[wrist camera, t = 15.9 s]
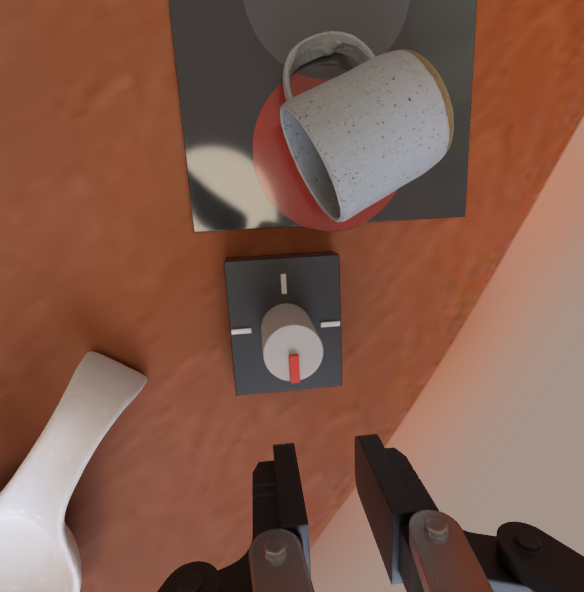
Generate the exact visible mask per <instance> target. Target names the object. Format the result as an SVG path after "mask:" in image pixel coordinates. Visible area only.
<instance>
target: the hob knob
mask: <svg viewBox="0 0 584 592" xmlns="http://www.w3.org/2000/svg"><path fill="white" fill-rule="evenodd" d="M261 334H262V347H263V358H264V362H265V365H266V367H267V368H268V370H269V371H270V372H271V373H272V374H273V375H274V376H276V377H277V378H279V379H282V380H286V381H290V382H291V383H300V380H302V379H305V378H307V377H309V376H310V375H312V374H313V373H314V372H315V371H316V370H317V369H318V367H319V365H320V364H321V361H322V358H323V345H322V342H321V340H320V338H319V336H318V334H317V332H316V330H315V328H314V326H313V324H312V322H311V320H310V318H309V316H308V314H307V313H306V312H305V311H304V310H303V309H302V308H301V307H299V306H297V305H294V304H280V305H277V306H275V307H273V308H271V309H270V310H269V311H268V312H267V313H266V315H265V316H264V318H263V320H262V324H261Z"/></svg>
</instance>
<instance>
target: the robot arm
mask: <svg viewBox="0 0 584 592" xmlns="http://www.w3.org/2000/svg"><path fill="white" fill-rule="evenodd" d="M273 451H274V461H265V462H259V463H258V465H257V466H256V468H255V470H254V472H253V539H252V543H251V545H250V548H249V550H248V551H247V553H246V554H245V555H244V556H243V557H242V558H241V559H240V560H238V561H237V562H235V563H233V564H232V565H230V566H227V567H225V568H223V569H221V570H218V571H217V569H216V568H215V567H214V566H212V565H211V564H209V563H206V562H200V561H198V562H191V563H188V564H185V565H183V566H181V567H179V568H178V569H176V570H175V571H174V572H173V573H172V574H171V575H170V576H169V577H168V578H167V580H166V581H165V582H164V584H163V585H162V586H161V588H160V589H159V590H158V592H314V589H313V585H312V582H311V570H310V550H309V529H308V520H307V514H306V509H305V503H304V497H303V492H302V486H301V480H300V475H299V469H298V463H297V458H296V452H295V446H294V443H286V444H277V445H273ZM355 479H356V486H357V490H358V494H359V497H360V500H361V502H362V505H363V507H364V510H365V513H366V516H367V519H368V521H369V524H370V527H371V529H372V532H373V535H374V538H375V540H376V543H377V546H378V548H379V551H380V554H381V557H382V559H383V562H384V565H385V568H386V570H387V573H388V576H389V578H390V581H391V584H399V583H404V586H405V589H406V591H407V592H584V556H582V555H580V554H579V553H577V552H575V551H574V550H572V549H571V548H569V547H567V546H566V545H564V544H562V543H561V542H559V541H558V540H556V539H554V538H553V537H551V536H549V535H548V534H546V533H545V532H543V531H541V530H540V529H538V528H536V527H533V526H531V525H529V524H525V523H521V522H508V523H505V524H503V525H501V526H500V527H499V528H498V530H497V537H496V536H489V535H482V534H476V533H471V532H467V531H464V530H462V528H461V527H460V525H459V524H458V523H457V522H456V521H455V520H454V519H453V518H451V517H450V516H448V515H446V514H444V513H442V512H439V510H438V508H437V507H436V505H435V504H434V502H433V500H432V499H431V497H430V495H429V494H428V492H427V490H426V489H425V487H424V485H423V484H422V482H421V480H420V479H418V475H417V474H416V472H415V471H414V470H413V468H412V466H411V464H410V462H409V461H408V459H407V457H406V456H405V455H403V454H402V453H401V452H399V451H398V450H397V449H395V448H384V446H383V444H382V442H381V440H380V438H379V437H378V435H377V434H372V435H363V436H356V437H355Z"/></svg>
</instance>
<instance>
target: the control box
mask: <svg viewBox="0 0 584 592" xmlns="http://www.w3.org/2000/svg"><path fill="white" fill-rule="evenodd" d="M224 271H225V281H226V292H227V303H228V314H229V324H230V335H231V346H232V357H233V367H234V378H235V389H236V395H247V394H258V393H268V392H279V391H290V390H300V389H311V388H321V387H332V386H342V358H341V312H340V266H339V254H337V253H335V252H334V251H328V252H313V253H297V254H281V255H266V256H250V257H234V258H226V259H225V261H224ZM280 304H294V305H297V306H299V307H301V308H302V309H303V310H304V311H305V312H306V313H307V314H308V316H309V318H310V320H311V322H312V324H313V326H314V328H315V330H316V332H317V334H318V336H319V338H320V340H321V342H322V345H323V358H322V361H321V364H320V365H319V367H318V369H317V370H316V371H315V372H314V373H313V374H312V375H310V376H309V377H307V378H305V379H302V380H300V383H291V382H290V381H286V380H282V379H279V378H277V377H276V376H274V375H273V374H272V373H271V372H270V371H269V370H268V368H267V367H266V365H265V362H264V358H263V347H262V334H261V324H262V320H263V318H264V316H265V315H266V313H267V312H268V311H269V310H270V309H271V308H273V307H275V306H277V305H280Z"/></svg>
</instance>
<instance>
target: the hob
mask: <svg viewBox="0 0 584 592" xmlns="http://www.w3.org/2000/svg"><path fill="white" fill-rule="evenodd" d="M476 4H477V0H169V6H170V16H171V25H172V34H173V43H174V52H175V61H176V71H177V80H178V89H179V98H180V107H181V116H182V126H183V135H184V144H185V153H186V162H187V171H188V181H189V190H190V199H191V208H192V217H193V226H194V232H205V231H222V230H239V229H257V228H274V227H291V226H304V227H307V228H311V229H314V230H321V231H338V230H345V229H349V228H352V227H355V226H357V225H360V224H362V223H364V222H378V221H395V220H413V219H430V218H447V217H465V208H466V189H467V171H468V152H469V134H470V115H471V96H472V78H473V59H474V41H475V22H476ZM329 31H337V32H344V33H348V34H352V35H354V36H355V37H357V38H358V39H360V40H361V41H363V42H364V43H365V44H366V45H367V46H368V47H369V48H370V49H371V51H372V52H373V54H374V55H375V57H376V56H378V55H381V54H385V53H388V52H391V51H395V50H399V49H407V50H412V51H414V52H416V53H418V54H420V55H422V56H423V57H424V58H426V59H427V60H428V61H429V62H430V63H431V64H432V66H433V67H434V68H435V69H436V70H437V72H438V73H439V75H440V76H441V78H442V80H443V82H444V84H445V86H446V88H447V91H448V93H449V97H450V100H451V104H452V108H453V117H454V132H453V139H452V142H451V145H450V148H449V149H448V151H447V153H446V154H445V156H444V157H443V158H442V159H441V160H440V161H439V162H438V163H436V164H435V165H434V166H433V167H432V168H430V169H429V170H428V171H427V172H425V173H424V174H422V175H421V176H419V177H417V178H416V179H414V180H412V181H410V182H409V183H407V184H405V185H403V186H402V187H400V188H398V189H397V190H395V191H394V192H392V193H391V194H389V195H387V196H386V197H384V198H383V199H381V200H379V201H378V202H376V203H374V204H372V205H371V206H369V207H367V208H366V209H364V210H362V211H360V212H359V213H357V214H356V215H354V216H353V217H351V218H349V219H348V220H346V221H343V222H336V221H334V220H333V219H331V218H330V217H329V216H328V215H327V214H326V213H325V212H324V211H323V210H322V208H321V207H320V206H319V205H318V203H317V202H316V200H315V198H314V197H313V195H312V194H311V193H310V191H309V189H308V187H307V186H306V184H305V182H304V180H303V178H302V176H301V174H300V172H299V171H298V168H297V166H296V163H295V161H294V159H293V157H292V155H291V153H290V150H289V148H288V145H287V142H286V139H285V136H284V133H283V129H282V126H281V119H280V107H281V105H282V104H283V103H285V102H286V99H285V94H284V87H283V70H284V65H285V62H286V59H287V57H288V55H289V53H290V51H291V50H292V49H293V48H294V47H295V46H296V45H297V44H298V43H300V42H301V41H303V40H304V39H306V38H308V37H310V36H313V35H315V34H319V33H323V32H329ZM358 65H360V64H359V63H358V62H356V61H355V60H354V59H352V58H351V57H349V56H347V55H344V54H341V53H334V52H333V53H332V54H331V55H329V56H322V57H320V58H317V59H315V60H312V61H310V62H308V63H305V64H303V65H302V66H300V67H299V68H298V69H297V70H296V71H295V72H294V73H293V75H292V77H291V82H290V87H291V93H292V95H293V97H295V96H297V95H299V94H302V93H304V92H306V91H308V90H310V89H312V88H314V87H316V86H318V85H320V84H322V83H324V82H327V81H329V80H331V79H333V78H335V77H337V76H339V75H341V74H343V73H346V72H347V71H349V70H351V69H353V68H355V67H357V66H358Z"/></svg>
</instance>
